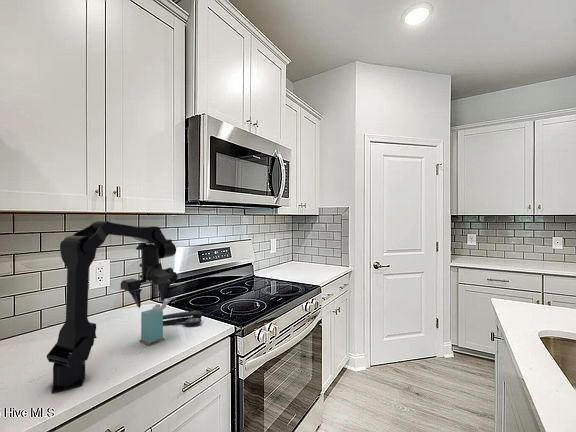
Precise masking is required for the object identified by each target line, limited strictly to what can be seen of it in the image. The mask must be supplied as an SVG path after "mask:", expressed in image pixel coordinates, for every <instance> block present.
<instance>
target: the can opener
mask: <svg viewBox="0 0 576 432" xmlns="http://www.w3.org/2000/svg"><path fill="white" fill-rule="evenodd" d="M202 317H203V312H202V311H201V310H191V311H189V310H185V311H182V312H174V313H168V314H163V326H169V325H175V324H180V323H183V326H184V327H187V328H190V327H197V326H199V325H200V324H201V323H202V321H203V319H202Z"/></svg>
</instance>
